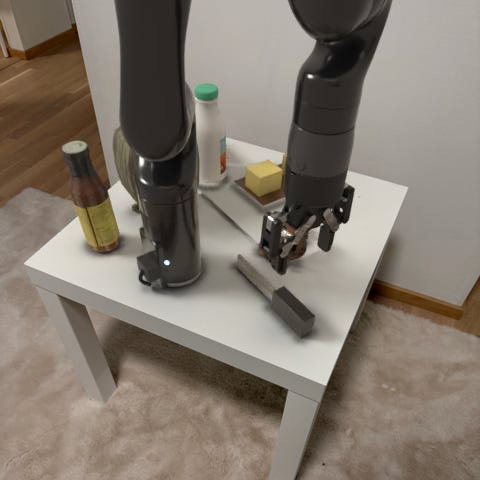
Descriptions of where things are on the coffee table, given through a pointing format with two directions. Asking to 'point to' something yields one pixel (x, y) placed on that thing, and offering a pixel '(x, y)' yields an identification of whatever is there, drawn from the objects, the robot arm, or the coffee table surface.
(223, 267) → the coffee table surface
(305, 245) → the pottery mug
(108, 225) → the sauce bottle
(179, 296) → the coffee table surface
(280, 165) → the butter board
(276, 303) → the knife
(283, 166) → the butter slice
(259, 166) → the butter stick
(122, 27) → the robot arm
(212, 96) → the milk bottle
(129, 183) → the tabletop clock
